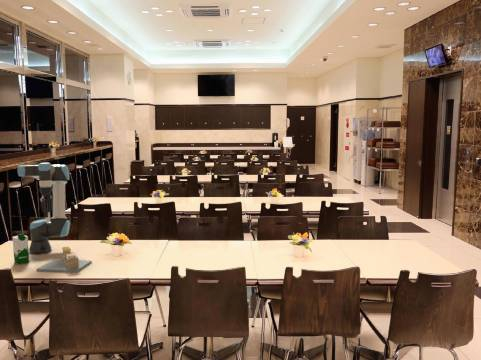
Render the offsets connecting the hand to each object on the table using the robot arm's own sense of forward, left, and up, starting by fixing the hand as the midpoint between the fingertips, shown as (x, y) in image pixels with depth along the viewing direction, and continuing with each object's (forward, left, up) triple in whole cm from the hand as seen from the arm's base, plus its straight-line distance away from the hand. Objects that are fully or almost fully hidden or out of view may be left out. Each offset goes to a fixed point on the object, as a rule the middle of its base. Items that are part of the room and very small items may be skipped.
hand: (47, 222), depth 299 cm
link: (+3, +16, -28) cm, 32 cm away
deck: (+2, +12, -29) cm, 32 cm away
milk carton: (-4, -23, -30) cm, 38 cm away
